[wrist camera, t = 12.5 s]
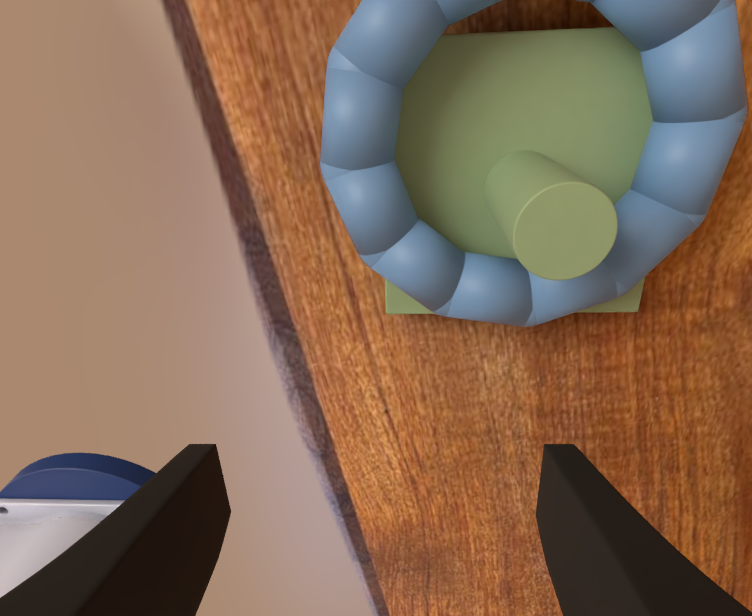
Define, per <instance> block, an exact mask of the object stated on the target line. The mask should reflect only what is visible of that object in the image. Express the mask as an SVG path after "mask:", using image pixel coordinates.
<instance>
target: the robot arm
mask: <svg viewBox="0 0 752 616" xmlns="http://www.w3.org/2000/svg"><path fill="white" fill-rule="evenodd" d="M230 513H231V509H230V505H229V500H228V496H227V492H226V487H225V483H224V478H223V474H222V469H221V465H220V460H219V456H218V451H217V447H216V444H189V445H188V446H187V447H185V448H184V449H183V450H182V451H181V452H180V453H179V454H178V455H176V456H175V457H174V458H173V459H172V460H171V461H170V462H169V463H167V464H166V465H165V466H164V467H163V468H162V469H161V470H160V471H158V472H157V473H156V474H155V475H154V476H153V477H152V478H151V479H150V480H148V481H147V482H146V483H145V484H144V485H143V486H142V487H141V488H139V489H138V490H137V491H136V492H135V493H134V494H133V495H131V496H130V497H129V498H128V499H127V500H74V499H9V498H0V616H195V615H196V612H197V610H198V608H199V605H200V603H201V600H202V598H203V595H204V593H205V590H206V588H207V586H208V583H209V580H210V578H211V575H212V573H213V571H214V568H215V565H216V563H217V560H218V558H219V554H220V551H221V547H222V543H223V541H224V537H225V533H226V529H227V526H228V522H229V518H230ZM536 518H537V523H538V528H539V533H540V538H541V543H542V547H543V552H544V556H545V561H546V564H547V567H548V570H549V574H550V577H551V580H552V583H553V586H554V589H555V592H556V595H557V598H558V601H559V604H560V607H561V610H562V613H563V616H752V612H750V611H749V610H748V609H747V608H745V607H744V606H743V605H742V604H740V603H739V602H738V601H737V600H735V599H734V598H733V597H732V596H730V595H729V594H728V593H727V592H725V591H724V590H723V589H722V588H721V587H719V586H718V585H717V584H716V583H714V582H713V581H712V580H711V579H710V578H708V577H707V576H706V575H705V574H704V573H703V572H701V571H700V570H699V569H698V568H697V567H696V566H695V565H693V564H692V563H691V562H690V561H689V560H688V559H687V558H686V557H685V556H684V555H682V554H681V553H680V552H679V551H678V550H677V549H676V548H675V547H674V546H672V545H671V544H670V543H669V542H668V541H667V540H666V539H665V538H664V537H663V536H662V535H661V534H660V533H659V532H658V531H657V530H656V529H655V528H654V527H653V526H652V525H651V524H650V523H649V522H648V521H647V520H646V519H645V518H644V517H643V516H642V515H641V514H640V513H639V512H638V511H637V510H636V509H635V508H634V507H633V506H632V505H631V504H630V503H629V502H628V501H627V500H626V499H625V498H624V497H623V496H622V495H621V494H620V493H619V492H618V491H617V490H616V489H615V488H614V487H613V486H612V485H611V484H610V482H609V481H608V480H607V479H606V478H605V477H604V476H603V475H602V474H601V473H600V472H599V471H598V470H597V469H596V467H595V466H594V465H593V464H592V463H591V462H590V461H589V460H588V459H587V458H586V457H585V456H584V454H583V453H582V452H581V451H580V450H579V449H578V448H577V447H576V446H575V445H574V444H544V452H543V460H542V468H541V476H540V484H539V492H538V500H537V509H536Z"/></svg>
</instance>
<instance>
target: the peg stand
mask: <svg viewBox="0 0 752 616" xmlns="http://www.w3.org/2000/svg"><path fill="white" fill-rule="evenodd" d="M652 122H653V118H652V113H651V108H650V102H649V97H648V92H647V87H646V82H645V77H644V71H643V66H642V61H641V56H640V51H639V50H638V49H637V48H636V47H635V46H634V45H633V44H632V43H631V42H630V41H629V40H628V39H627V38H626V37H625V36H624V35H623V34H622V33H621V32H620V31H619V30H618V29H617V28H616V27H600V28H577V29H555V30H533V31H511V32H489V33H467V34H445V35H441V37H440V38H439V40H438V41H437V42H436V44H435V45H434V47H433V48H432V49H431V51H430V52H429V54H428V55H427V57H426V58H425V59H424V61H423V62H422V64H421V65H420V66H419V68H418V69H417V71H416V72H415V73H414V75H413V76H412V78H411V79H410V81H409V82H408V83H407V85H406V86H405V88H404V89H403V97H402V104H401V112H400V120H399V128H398V135H397V143H396V151H395V158H394V159H395V162H396V164H397V167H398V169H399V172H400V174H401V177H402V179H403V182H404V184H405V187H406V189H407V192H408V194H409V197H410V199H411V202H412V204H413V207H414V209H415V212H416V214H417V217H419V218H420V219H421V220H423V221H424V222H425V223H427V224H428V225H429V226H430V227H432V228H433V229H434V230H436V231H437V232H438V233H440V234H441V235H442V236H444V237H445V238H446V239H447V240H449V241H450V242H451V243H453V244H454V245H455V246H457V247H458V248H459V249H460V250H462V251H463V252H469V253H477V254H484V255H492V256H500V257H507V258H515V259H518V260H519V261H520V263H521V264H522V265H523V266H524V268H526V269H527V270H528V271H529V272H531V273H532V274H534V275H536V276H538V277H540V278H544V279H548V280H558V281H560V280H569V279H573V278H576V277H579V276H582V275H584V274H586V273H588V272H589V271H591V270H593V269H594V268H595V267H597V266H598V265H599V264H600V263H601V262H602V261H603V260H604V259H605V258H606V256H607V255H608V253H609V252H610V250H611V248H612V247H613V245H614V242H615V239H616V235H617V230H618V218H617V213H616V210H615V207H614V204H615V203H616V202H617V201H618V200H619V199H620V198H621V197H622V196H623V195H624V194H625V193H626V192H627V191H628V190H629V189H630V188H631V185H632V182H633V179H634V176H635V173H636V170H637V167H638V164H639V161H640V158H641V155H642V152H643V149H644V146H645V143H646V140H647V137H648V134H649V131H650V128H651V125H652ZM644 280H645V277H644V278H643V279H642V280H641V281H640V282H638V283H637V284H636V285H635V286H634V287H633V288H632V289H631V290H630V291H629V292H627V293H626V294H625V295H623V296H621V297H619V298H616V299H614V300H611V301H608V302H605V303H602V304H599V305H596V306H593V307H590V308H587V309H584V310H581V311H578V312H575V313H581V312H638V310H639V305H640V300H641V295H642V290H643V285H644ZM385 297H386V313H387V314H435V313H433V312H431V311H430V310H428V309H427V308H426V307H424V306H423V305H421V304H420V303H419V302H417V301H416V300H414V299H413V298H412V297H410V296H409V295H408V294H406V293H405V292H403V291H402V290H401V289H399V288H398V287H396V286H395V285H394V284H392V283H391V282H389V281H388V280H387V279H385Z"/></svg>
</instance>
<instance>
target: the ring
mask: <svg viewBox="0 0 752 616" xmlns="http://www.w3.org/2000/svg"><path fill="white" fill-rule="evenodd" d="M499 1H501V0H362V1H361V3H360V4H359V6H358V8H357V9H356V11H355V12H354V14H353V16H352V17H351V19H350V20H349V22H348V24H347V25H346V27H345V28H344V30H343V32H342V33H341V35H340V36H339V38H338V40H337V41H336V43H335V44H334V46H333V48H332V50H331V52H330V54H329V58H328V61H327V69H326V83H325V98H324V113H323V127H322V142H321V157H320V168H321V173H322V176H323V179H324V181H325V183H326V186H327V188H328V190H329V192H330V194H331V196H332V198H333V201H334V203H335V205H336V207H337V209H338V211H339V214H340V216H341V218H342V220H343V222H344V224H345V227H346V229H347V231H348V233H349V235H350V237H351V240H352V242H353V244H354V246H355V248H356V250H357V253H358V254H359V256H360V258H361V259H362V260H363V262H364V263H365V264H366V265H367V266H369V267H370V268H371V269H373V270H374V271H376V272H377V273H378V274H380V275H381V276H382V277H384V278H385V279H387V280H388V281H389V282H391V283H392V284H394V285H395V286H396V287H398V288H399V289H401V290H402V291H403V292H405V293H406V294H408V295H409V296H410V297H412V298H413V299H414V300H416V301H417V302H419V303H420V304H421V305H423V306H424V307H426V308H427V309H428V310H430V311H431V312H433V313H435V314H437V315H440V316H444V317H451V318H459V319H466V320H474V321H482V322H489V323H497V324H505V325H512V326H520V327H531V326H536V325H539V324H542V323H545V322H548V321H551V320H554V319H557V318H560V317H563V316H566V315H569V314H572V313H575V312H578V311H581V310H584V309H587V308H590V307H593V306H596V305H599V304H602V303H605V302H608V301H611V300H614V299H616V298H619V297H621V296H623V295H625V294H626V293H627V292H629V291H630V290H631V289H632V288H633V287H634V286H635V285H636V284H637V283H638V282H640V281H641V280H642V279H643V278H644V277H645V276H646V275H647V274H648V273H649V272H650V271H651V270H653V269H654V268H655V267H656V266H657V265H658V264H659V263H660V262H661V261H662V260H663V259H664V258H666V257H667V256H668V255H669V254H670V253H671V252H672V251H673V250H674V249H675V248H676V247H677V246H678V245H680V244H681V243H682V242H683V241H684V240H685V239H686V238H687V237H688V236H689V235H690V234H691V233H693V232H694V231H695V230H696V229H697V228H698V227H699V226H700V225H701V223H702V222H703V221H704V219H705V217H706V216H707V213H708V211H709V209H710V206H711V204H712V201H713V199H714V196H715V194H716V191H717V189H718V187H719V184H720V182H721V179H722V177H723V174H724V172H725V169H726V167H727V165H728V162H729V160H730V157H731V155H732V152H733V150H734V147H735V145H736V143H737V140H738V138H739V135H740V133H741V130H742V128H743V125H744V123H745V120H746V117H747V112H748V100H747V92H746V84H745V75H744V67H743V59H742V50H741V42H740V34H739V26H738V17H737V9H736V1H735V0H577V1H585V2H590V3H591V4H592V5H593V6H594V7H595V8H596V9H597V10H598V11H599V12H600V13H601V14H602V15H603V16H604V17H605V18H606V19H607V20H608V21H609V22H610V23H611V24H613V25H614V26H615V27H616V28H617V29H618V30H619V31H620V32H621V33H622V34H623V35H624V36H625V37H626V38H627V39H628V40H629V41H630V42H631V43H632V44H633V45H634V46H635V47H636V48H637V49H638V50H639V51H640V56H641V61H642V66H643V71H644V77H645V82H646V87H647V92H648V97H649V102H650V108H651V113H652V118H653V122H652V125H651V128H650V131H649V134H648V137H647V140H646V143H645V146H644V149H643V152H642V155H641V158H640V161H639V164H638V167H637V170H636V173H635V176H634V179H633V182H632V185H631V188H630V189H629V190H628V191H627V192H626V193H625V194H624V195H623V196H622V197H621V198H620V199H619V200H618V201H617V202H616V203H615V204H614V207H615V210H616V213H617V218H618V230H617V235H616V239H615V242H614V245H613V247H612V248H611V250H610V252H609V253H608V255H607V256H606V258H605V259H604V260H603V261H602V262H601V263H600V264H599V265H598V266H597V267H595V268H594V269H593V270H591V271H589V272H588V273H586V274H584V275H582V276H579V277H576V278H573V279H569V280H560V281H558V280H548V279H544V278H540V277H538V276H536V275H534V274H532V273H531V272H529V271H528V270H527V269H526V268H524V266H523V265H522V264H521V263H520V261H519V260H518V259H515V258H507V257H500V256H492V255H484V254H477V253H469V252H463V251H462V250H460V249H459V248H458V247H457V246H455V245H454V244H453V243H451V242H450V241H449V240H447V239H446V238H445V237H444V236H442V235H441V234H440V233H438V232H437V231H436V230H434V229H433V228H432V227H430V226H429V225H428V224H427V223H425V222H424V221H423V220H421V219H420V218H419V217H417V214H416V212H415V209H414V207H413V204H412V202H411V199H410V197H409V194H408V192H407V189H406V187H405V184H404V182H403V179H402V177H401V174H400V172H399V169H398V167H397V164H396V162H395V159H394V158H395V151H396V143H397V135H398V128H399V120H400V112H401V104H402V97H403V89H404V88H405V86H406V85H407V83H408V82H409V81H410V79H411V78H412V76H413V75H414V73H415V72H416V71H417V69H418V68H419V66H420V65H421V64H422V62H423V61H424V59H425V58H426V57H427V55H428V54H429V52H430V51H431V49H432V48H433V47H434V45H435V44H436V42H437V41H438V40H439V38H440V37H441V35H442V34H443V32H444V31H445V30H446V28H447V27H448V26H449V25H451V24H454V23H456V22H458V21H460V20H462V19H464V18H466V17H468V16H470V15H472V14H474V13H476V12H478V11H481V10H483V9H485V8H487V7H489V6H491V5H493V4H495V3H497V2H499Z"/></svg>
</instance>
